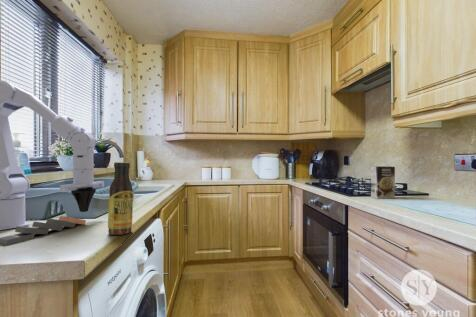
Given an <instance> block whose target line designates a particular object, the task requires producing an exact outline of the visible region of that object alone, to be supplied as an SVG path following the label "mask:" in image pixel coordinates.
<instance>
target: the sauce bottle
mask: <svg viewBox="0 0 476 317" xmlns="http://www.w3.org/2000/svg"><path fill="white" fill-rule="evenodd" d="M130 166H131V165H130V162H123V161H122V162H120V161H119V162H118V161H117V162H116V161H115V162H114V163H113V167H114V176H113V177H114V179H113V180H112V182H111V183H110V186H109V193H108V194H109V195H108V212H107V228H108V230H107V232H108V235H110V236H122V235H123V236H124V235H126V234H130V233H132V227H133V208H134V207H133V205H134V202H133V201H134V199H133V198H134V190H133V184H132V182H131V179H130V168H131V167H130Z"/></svg>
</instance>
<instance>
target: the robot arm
mask: <svg viewBox="0 0 476 317" xmlns="http://www.w3.org/2000/svg"><path fill="white" fill-rule="evenodd" d="M23 108H28V109H30V110H32V111H33V112H35V113H36V114H37V115H39V116H40V117H41V118H43V119H44V120H45V121H47V122H49V123H50V128H51V130H52V131H54V132H55V133H56V134H58V136H60V137H61V138H62V139H64V140H66V142H68V143H69V146H70V147H71V149H72V153H73V154H72V172H73V173H72V177H73V178H72V181H73V182H72V183H68V184H67V183H66V184H60V185H59V192H62V193H65V192H66V193H67V192H70V193H71V195H72V196H73V198H74V199H75V201H76V203H77V207H78V209H79V212H81V213H85V212H89V208H90V204H91V202H92V199H93V197H94V195H95V194H96V192H97V189H96V188H104V187H105V181H103V180H102V181H101V180H98V181H94V180H95V179H94V178H95V176H94V175H95V174H94V172H95V171H94V170H95V169H94V162H95V161H94V149H95V147H96V144H97V141H96V139H95V137H94V135H93V134H92V133H89V132H86V129H85V128H84V127H80V126H79V125H78V124H76V123H75V122H74V119H73V118H72V117H70V116H66V115H61V116H60V115H59V114H57V113H56V112H55V111H53V110H52V108H50V107H49V106H48V105H46V103H44V102H43V101H42V100H40V99H39V98H38V97H37V96H36V95H34V94H32V93H31V92H29V91H28V90H27V89H25V88H22V87H18V86H16V85H13V84H11V83H10V82H8V81H7V80H2V79H1V80H0V231H3V230H10V229H16V226H21V227H30V225H31V224H30V223H29V222H27V221H26V193H27V192H28V191H29V190H30V187H31V182H30V179H29V178H27V176H26V174H25V170H23V169H22V168H21V167H20V166H19V165H18V159H17V155H16V150H15V145H14V140H13V136H12V131H11V127H10V121H9V116H11V115H12V114H13V113H15V112H17V111H19V110H21V109H23Z"/></svg>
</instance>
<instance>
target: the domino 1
mask: <svg viewBox="0 0 476 317" xmlns="http://www.w3.org/2000/svg"><path fill="white" fill-rule="evenodd" d="M33 239H35V234H29V233H19V232H18V233H15V234H11V235H7V236H2V237H0V245H1V246H11V245H15V244H19V243H22V242H23V243H24V242H26V241H30V240H33Z"/></svg>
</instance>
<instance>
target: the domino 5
mask: <svg viewBox="0 0 476 317" xmlns="http://www.w3.org/2000/svg"><path fill="white" fill-rule="evenodd" d="M58 220H61V221H67V222H72V223H76V224H75V225H84V224H85V225H86V221H87V220H85V219H81V218H76V217H71V216H64V215H59V218H58ZM85 225H84V226H85Z"/></svg>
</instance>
